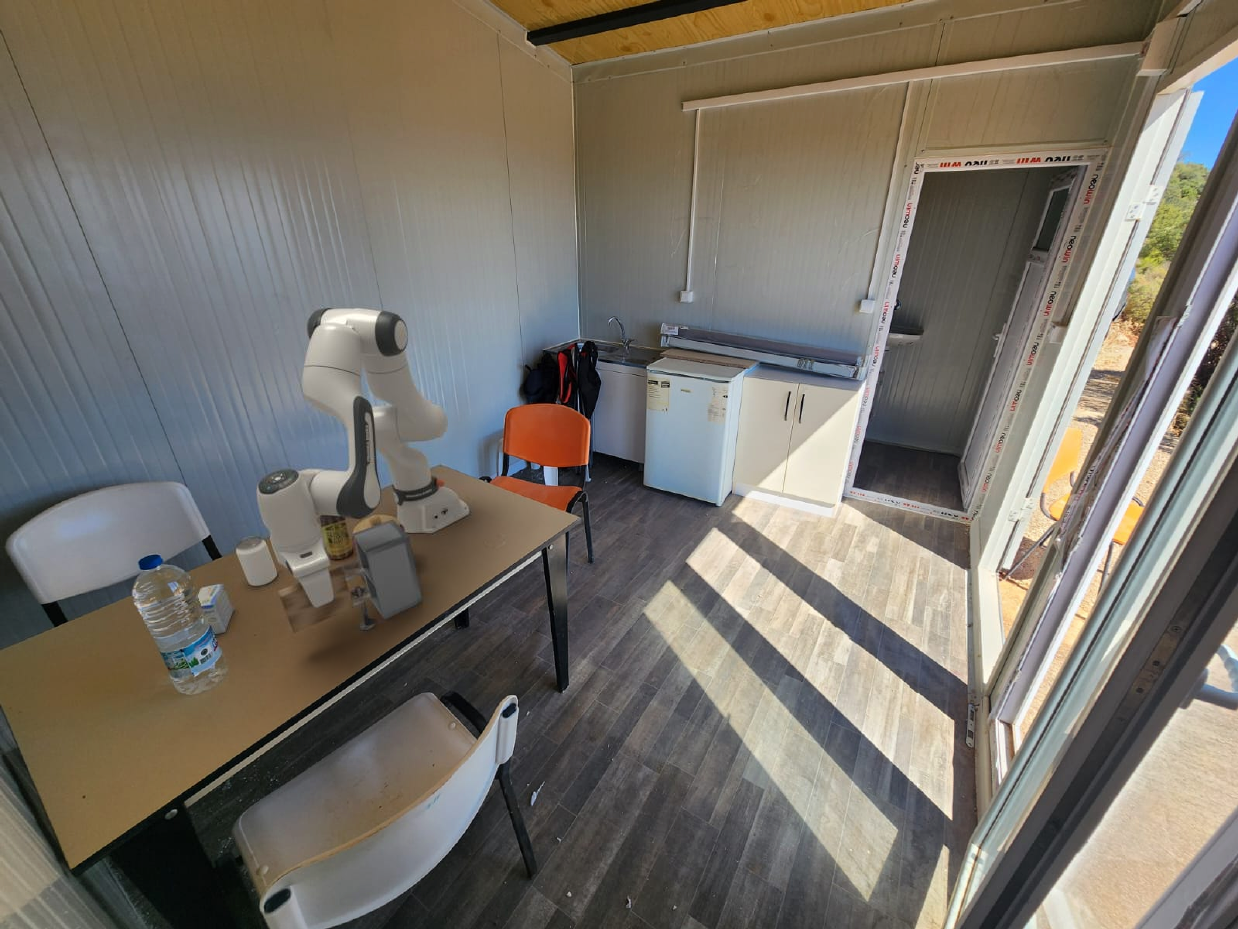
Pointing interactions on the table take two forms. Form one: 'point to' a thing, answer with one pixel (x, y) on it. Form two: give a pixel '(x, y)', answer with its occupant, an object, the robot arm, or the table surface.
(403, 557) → the cabinet
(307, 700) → the table surface
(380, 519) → the canister
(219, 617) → the medicine box
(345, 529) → the sauce bottle
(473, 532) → the table surface
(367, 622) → the hinge post
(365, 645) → the table surface
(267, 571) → the can
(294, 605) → the door
